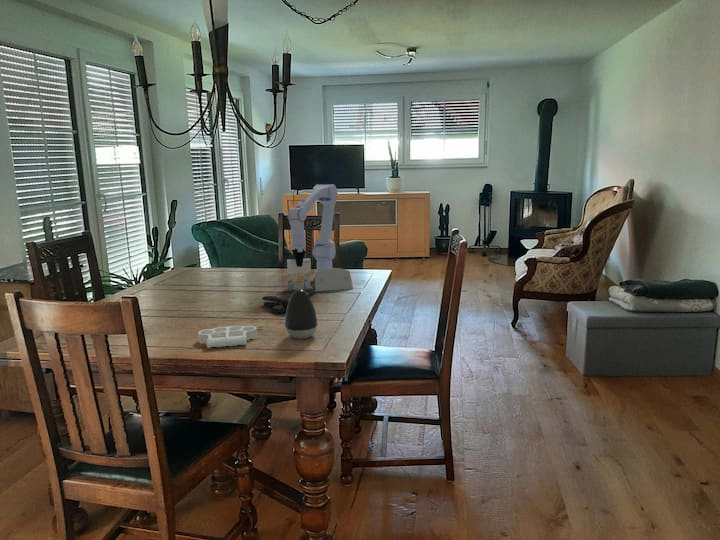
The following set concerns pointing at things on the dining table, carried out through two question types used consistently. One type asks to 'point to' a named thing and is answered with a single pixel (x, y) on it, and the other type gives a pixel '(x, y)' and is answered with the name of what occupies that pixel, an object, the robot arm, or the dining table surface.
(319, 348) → the dining table surface
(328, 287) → the grey curved block
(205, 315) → the dining table surface
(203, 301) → the dining table surface
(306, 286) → the clip bracket
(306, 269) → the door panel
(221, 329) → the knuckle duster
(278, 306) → the can opener
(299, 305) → the dark grey tapered dome
